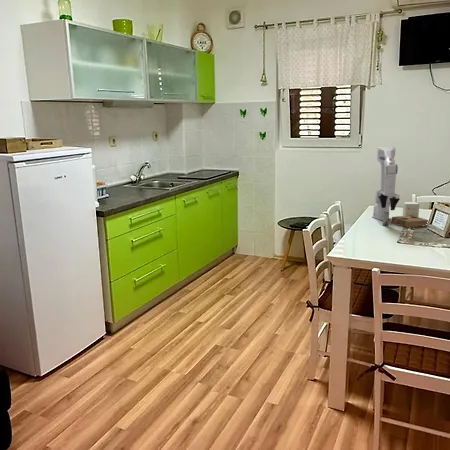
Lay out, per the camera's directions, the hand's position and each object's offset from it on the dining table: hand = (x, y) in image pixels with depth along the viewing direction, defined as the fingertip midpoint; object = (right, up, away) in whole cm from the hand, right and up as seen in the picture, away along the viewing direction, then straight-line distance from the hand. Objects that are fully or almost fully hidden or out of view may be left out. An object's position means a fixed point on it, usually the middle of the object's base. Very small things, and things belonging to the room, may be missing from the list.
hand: (387, 209), depth 250 cm
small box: (+20, -6, +17) cm, 27 cm away
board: (+14, -9, +5) cm, 18 cm away
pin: (-1, -10, +3) cm, 10 cm away
